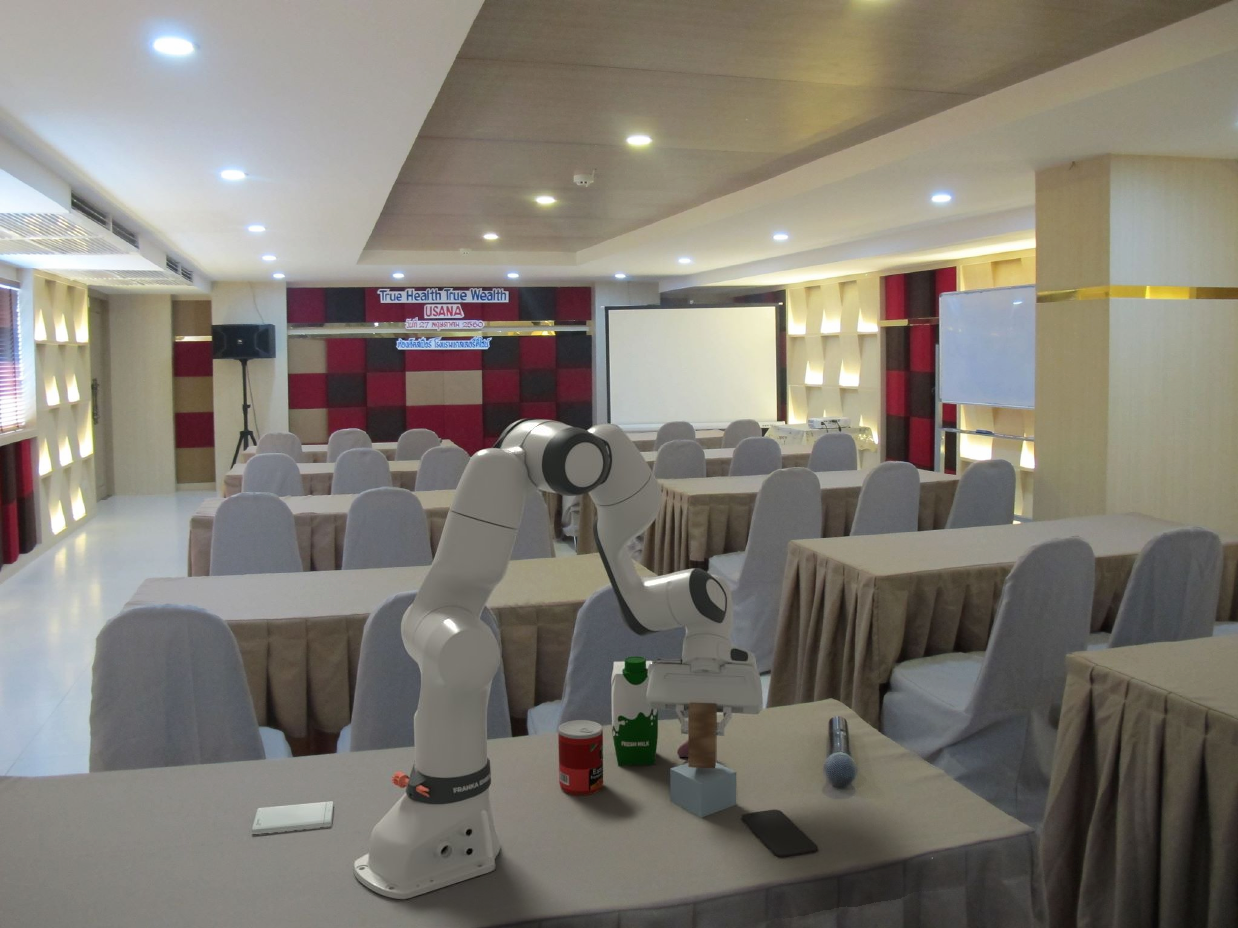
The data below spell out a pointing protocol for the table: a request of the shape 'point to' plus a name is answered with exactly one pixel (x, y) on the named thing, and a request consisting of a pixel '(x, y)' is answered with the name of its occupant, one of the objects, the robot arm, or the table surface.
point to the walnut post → (702, 735)
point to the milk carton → (633, 714)
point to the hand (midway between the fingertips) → (702, 733)
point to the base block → (703, 788)
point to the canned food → (580, 757)
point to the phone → (779, 833)
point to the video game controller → (683, 751)
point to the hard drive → (293, 817)
